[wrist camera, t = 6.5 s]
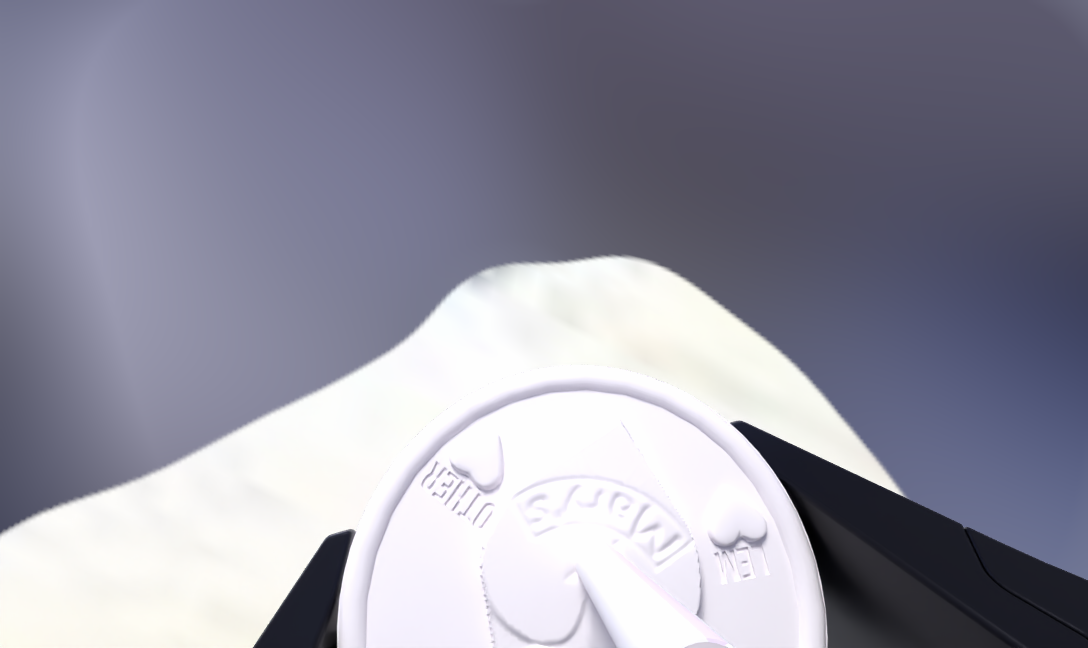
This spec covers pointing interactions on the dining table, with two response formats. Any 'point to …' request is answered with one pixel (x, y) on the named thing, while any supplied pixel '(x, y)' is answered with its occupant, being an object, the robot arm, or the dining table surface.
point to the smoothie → (580, 527)
